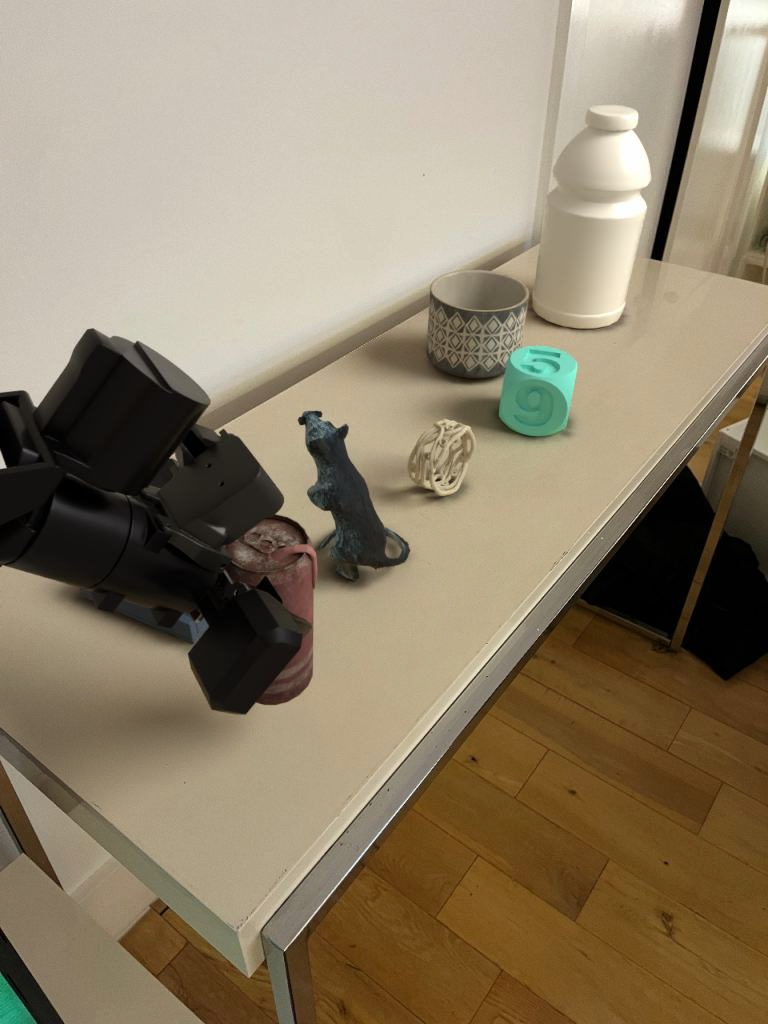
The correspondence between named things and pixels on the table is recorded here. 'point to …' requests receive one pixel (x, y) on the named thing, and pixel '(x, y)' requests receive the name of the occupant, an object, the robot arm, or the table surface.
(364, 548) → the sculpture
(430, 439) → the bracelet
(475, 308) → the planter
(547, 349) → the decorative dice
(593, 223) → the bottle
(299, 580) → the can
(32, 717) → the table surface
